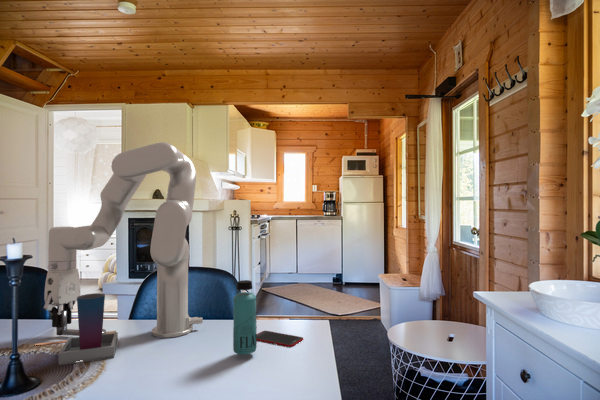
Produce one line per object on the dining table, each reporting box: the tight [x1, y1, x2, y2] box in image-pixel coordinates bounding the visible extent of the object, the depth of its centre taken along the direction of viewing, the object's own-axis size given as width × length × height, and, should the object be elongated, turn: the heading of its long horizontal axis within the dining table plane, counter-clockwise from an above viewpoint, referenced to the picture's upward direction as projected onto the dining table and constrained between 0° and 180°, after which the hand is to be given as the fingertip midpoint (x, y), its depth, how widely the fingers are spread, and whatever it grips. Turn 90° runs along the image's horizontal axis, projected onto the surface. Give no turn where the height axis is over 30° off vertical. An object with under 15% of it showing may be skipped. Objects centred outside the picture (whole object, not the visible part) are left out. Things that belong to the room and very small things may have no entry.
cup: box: [76, 292, 106, 350], centre depth 105 cm, size 7×7×15 cm
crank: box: [55, 309, 107, 337], centre depth 117 cm, size 16×5×7 cm, turn 81°
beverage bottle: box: [232, 279, 258, 355], centre depth 102 cm, size 6×7×20 cm
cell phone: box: [256, 330, 304, 348], centre depth 115 cm, size 8×15×1 cm, turn 60°
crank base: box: [34, 330, 117, 347], centre depth 114 cm, size 21×8×1 cm, turn 111°
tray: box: [58, 332, 119, 366], centre depth 104 cm, size 13×13×3 cm
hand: (61, 324), depth 118 cm, fingers closed on crank, 2 cm apart
